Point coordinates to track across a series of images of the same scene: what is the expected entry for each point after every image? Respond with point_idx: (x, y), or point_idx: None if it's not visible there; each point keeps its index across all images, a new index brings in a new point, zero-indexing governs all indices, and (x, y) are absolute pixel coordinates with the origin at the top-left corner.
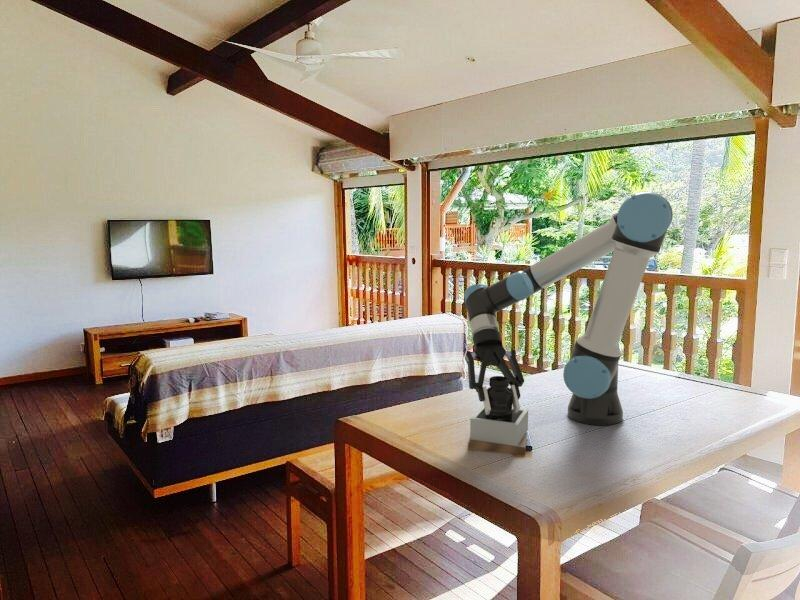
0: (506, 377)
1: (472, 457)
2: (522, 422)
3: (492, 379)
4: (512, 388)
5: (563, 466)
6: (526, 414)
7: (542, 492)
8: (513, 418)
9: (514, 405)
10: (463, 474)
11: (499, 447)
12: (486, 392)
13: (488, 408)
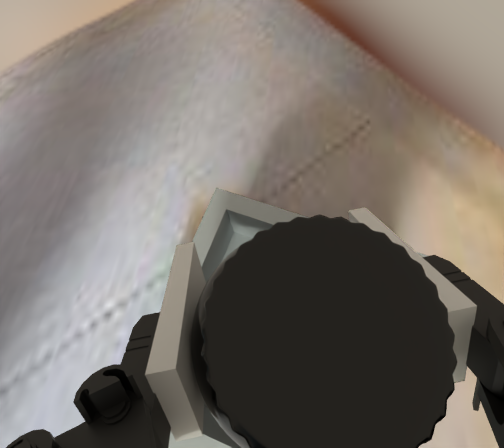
0: (217, 388)
1: (373, 194)
2: None
3: (413, 288)
4: (179, 339)
5: (121, 152)
6: None
7: (210, 33)
8: (206, 416)
9: (200, 291)
10: (389, 93)
11: None
12: None
13: (364, 211)
